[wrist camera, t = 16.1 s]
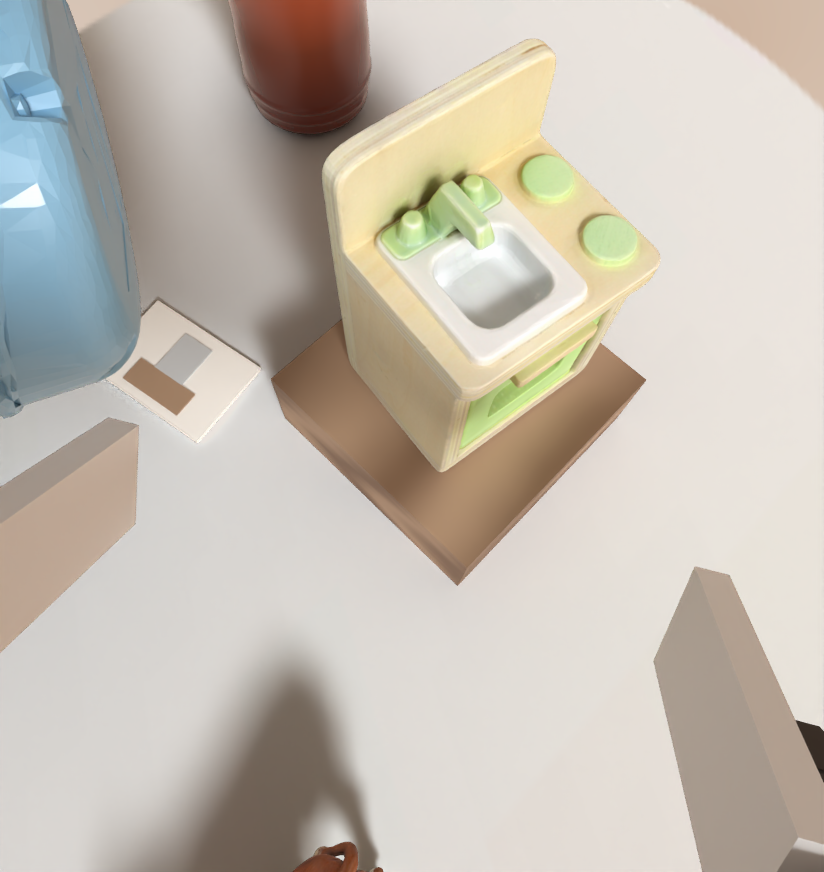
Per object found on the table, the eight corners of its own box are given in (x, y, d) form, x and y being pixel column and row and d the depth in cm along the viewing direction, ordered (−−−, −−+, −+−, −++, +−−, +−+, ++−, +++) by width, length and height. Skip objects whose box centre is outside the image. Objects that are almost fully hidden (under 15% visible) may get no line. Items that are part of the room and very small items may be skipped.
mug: (396, 140, 42) (396, -27, 32) (252, 164, 41) (208, 0, 32) (356, 2, 46) (345, -182, 37) (224, 21, 45) (178, -162, 36)
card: (93, 371, 36) (90, 367, 36) (159, 303, 38) (157, 299, 37) (198, 444, 35) (195, 441, 34) (261, 370, 36) (259, 366, 36)
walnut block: (286, 421, 36) (270, 378, 31) (446, 282, 39) (453, 224, 34) (456, 587, 33) (467, 567, 28) (613, 421, 36) (646, 380, 32)
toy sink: (445, 490, 29) (485, 341, 17) (344, 365, 31) (315, 151, 19) (593, 381, 31) (722, 178, 19) (489, 270, 33) (547, 21, 21)
